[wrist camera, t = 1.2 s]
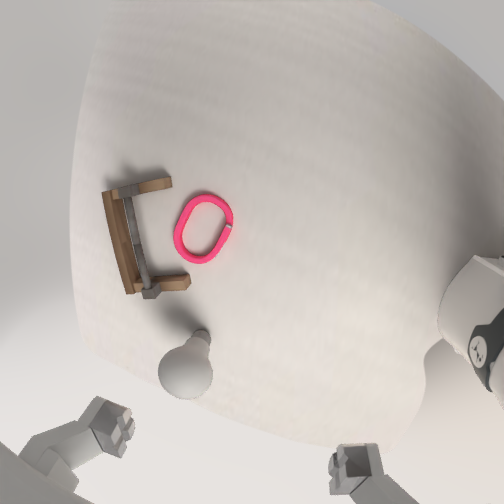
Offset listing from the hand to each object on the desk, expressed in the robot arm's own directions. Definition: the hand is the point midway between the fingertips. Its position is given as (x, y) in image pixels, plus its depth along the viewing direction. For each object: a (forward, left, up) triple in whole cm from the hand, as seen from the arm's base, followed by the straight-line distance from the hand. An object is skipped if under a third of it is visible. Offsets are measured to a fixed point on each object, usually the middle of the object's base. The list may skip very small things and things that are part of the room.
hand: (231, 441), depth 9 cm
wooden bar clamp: (+13, -3, -24) cm, 28 cm away
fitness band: (+7, -3, -25) cm, 26 cm away
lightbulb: (+10, +11, -24) cm, 28 cm away
